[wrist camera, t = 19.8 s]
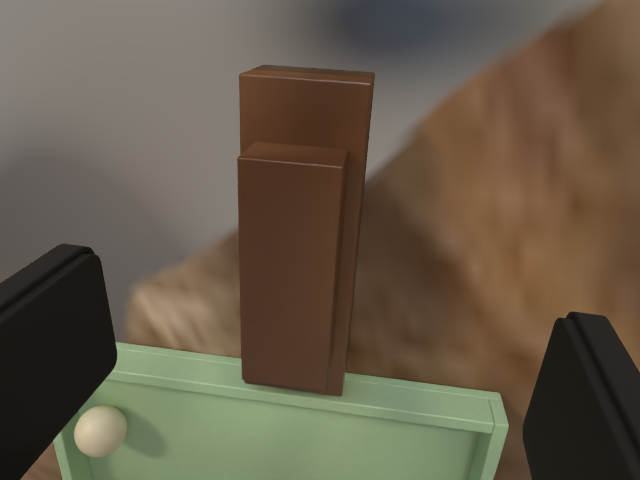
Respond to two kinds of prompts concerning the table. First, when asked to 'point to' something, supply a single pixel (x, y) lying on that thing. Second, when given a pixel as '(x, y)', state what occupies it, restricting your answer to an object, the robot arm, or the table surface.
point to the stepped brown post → (300, 221)
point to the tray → (282, 426)
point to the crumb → (100, 431)
